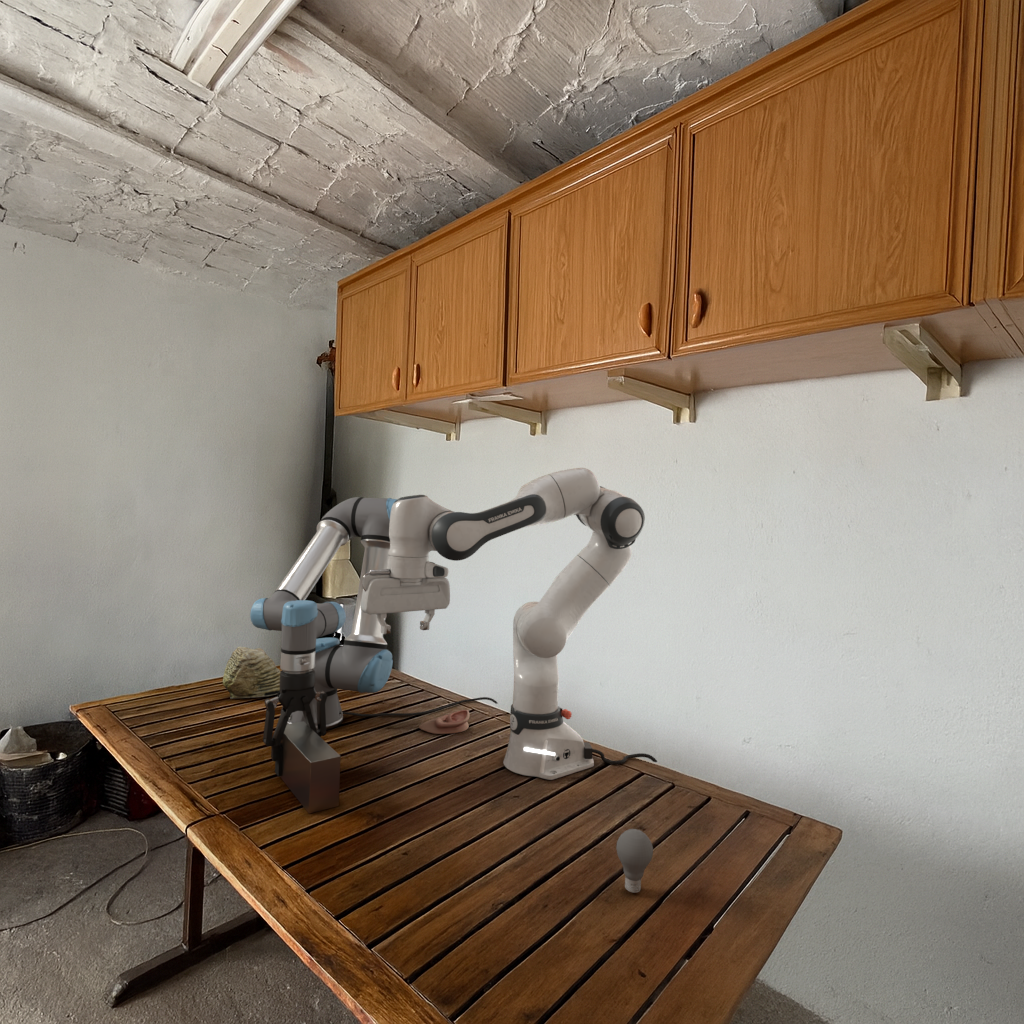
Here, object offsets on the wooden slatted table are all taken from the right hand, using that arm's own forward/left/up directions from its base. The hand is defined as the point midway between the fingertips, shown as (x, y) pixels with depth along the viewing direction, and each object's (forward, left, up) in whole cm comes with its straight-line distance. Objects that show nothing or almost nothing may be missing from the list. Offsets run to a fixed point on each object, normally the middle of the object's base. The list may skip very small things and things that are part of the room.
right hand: (405, 631), depth 139 cm
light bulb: (-25, +51, -35) cm, 66 cm away
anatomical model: (-22, -31, -35) cm, 51 cm away
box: (+19, -8, -35) cm, 40 cm away
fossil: (+23, -78, -35) cm, 88 cm away
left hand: (+20, -15, -34) cm, 42 cm away
